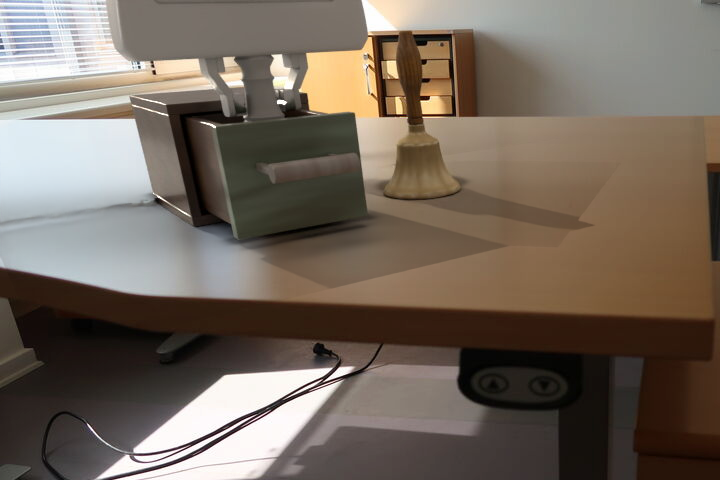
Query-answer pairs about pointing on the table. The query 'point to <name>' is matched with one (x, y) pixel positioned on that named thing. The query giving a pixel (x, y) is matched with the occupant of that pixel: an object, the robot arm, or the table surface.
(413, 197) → the hand bell
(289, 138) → the drawer
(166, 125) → the cabinet
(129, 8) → the robot arm
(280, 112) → the rook chess piece
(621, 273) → the table surface
